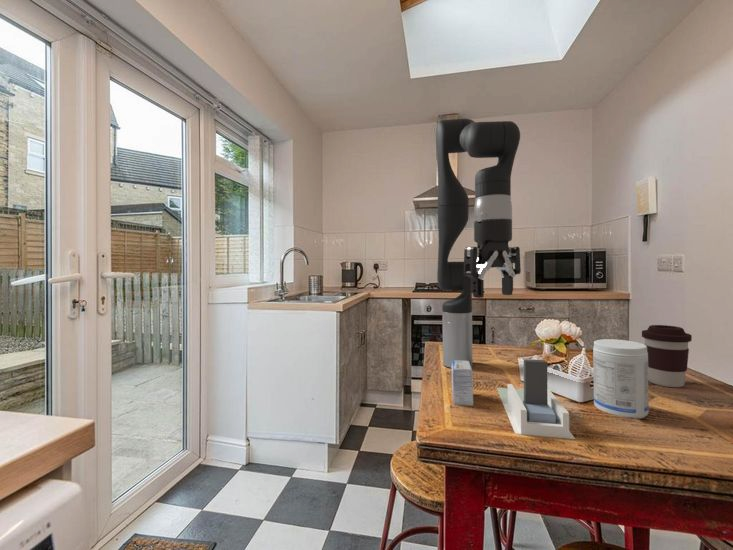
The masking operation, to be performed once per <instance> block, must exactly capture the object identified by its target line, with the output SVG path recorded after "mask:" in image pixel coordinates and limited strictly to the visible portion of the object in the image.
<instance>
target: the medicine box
mask: <svg viewBox="0 0 733 550" xmlns="http://www.w3.org/2000/svg"><path fill="white" fill-rule="evenodd" d="M450 369H451V395H452V401H453V402H452V403H453V405H455V406H456V405H457V406H474V382H473V380H474V377H473V375H474V374H473V373H474V372H473V369H472V367H471V365H470V362H469V361H460V360H456V361H452V363H451V368H450Z"/></svg>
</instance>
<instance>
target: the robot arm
mask: <svg viewBox="0 0 733 550" xmlns="http://www.w3.org/2000/svg"><path fill="white" fill-rule="evenodd" d="M520 140H521V131H520V128H519V126H518V125H517V124H516V123H515V122H514V121H512V120H511V121H510V120H507V121H506V120H502V121H478V122H477V121H474V120H472V119H469V118H455V119H453V118H451V119H441V120H440V121H438V122H437V124H436V129H435V150H436V162H437V163H436V165H437V230H438V251H437V252H438V253H437V254H438V255H437V271H436V272H437V273H436V274H437V275H436V277H437V286H438V288H439V290H441V291H461V293H460V294H459V295H458V296H456V297H455V298H453V299H449V300H446V301H444V302H443V303H442V310H441V311H442V313H441V314H442V319H441V320H442V364H443V366H444V367H448V368H450V369H451V363H452V361H456V360H460V361H469V362H470V365H471V368H472V367H473V366H474V365H473V297H474V298H477V299H481V298H484V293H485V291H484V290H485V289H484V287H485V285H484V283H485V282H484V281H485V280H484V276H485V274H486V273H487V272H488V271H490V269H491V268H492V269H493V268H495V269H496V270H497V271H499V272H500V275H501V277H502V278H501V294H502V295H504V296H512V295H513V291H514V278H515V277H516V276H517V275H520V274H521V271H522V269H521V250H520V249H521V248H520V247H519V246H509V242H511V241H512V240H513V205H512V196H511V191H512V188H511V185H512V184H511V181H512V180H511V177H512V172H513V166H514V163H515V162H514V161H515V160H516V159H515V158H516V155H517V151H518V148H519V144H520V142H521V141H520ZM459 153H467V154H468V156H469V157H470V158H473V159H474V158H476V159H489V158H490V159H491V158H497V159H498V160H497V164H496V165H492V166H489V167H485V168H482V169H480V170H478V171H477V172H476V174H475V177H474V207H473V241H474V242H476V246H466V247H465V248H464V251H463V254H464V255H463V261H448V260H449V256H450V253H451V251H452V248H453V247H454V245H455V242H456V241H457V239H458V238H459V237H460V235H461V233H462V232H463V231H464V229H465V228H466V225H467V224H468V221H469V212H470V211H469V209H470V206H469V205H470V204H469V203H470V200H469V196H468V194H467V191H466V189H465V188H464V187H463V185H462V184H461V182H460V180H459V179H458V178H457V176H456V173H455V172H454V170H453V167H452V165H451V161H450V155H449V154H459Z"/></svg>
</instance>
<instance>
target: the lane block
mask: <svg viewBox="0 0 733 550" xmlns="http://www.w3.org/2000/svg"><path fill="white" fill-rule="evenodd" d="M547 388H548V361H547V360H546V359H528V358H524V359H523V389H524V401H523V404H524V406H525V408H526V410H527V422H539V423H551V424H556V418H555V413H554V412H553V411H552V409H551V408H550V406H549V405H548V399H547Z"/></svg>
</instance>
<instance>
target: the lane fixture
mask: <svg viewBox="0 0 733 550" xmlns="http://www.w3.org/2000/svg"><path fill="white" fill-rule="evenodd" d="M496 390H497V393H498V395H499V398H500V400H501V402H502V405H503V407H504V410H505V413H506V414H507V417H508V419H509V422H510V425H511V427H512V429H513V432H514V434H515V435H524V436H525V435H526V436H535V437H544V438H545V437H547V438H548V437H549V438H558V439H568V440H576V437H575V436H574V435H573V434H572V433H571V431H570V413H569V411H568V410H567V409H566V408H565V406H563V404H562V403H561V402H560V401H559V399H558V398H557V397H556V396H555V395H554V394H553V393H552V391H551V390H550V389H549V388H548V387H547V399H548V405H549V406H550V408H551V409H552V411H553V412H554V413H555V418H556V424H551V423H539V422H527V410H526V408H525V406H524V404H523V401H524V388H523V389H522V388H515V386H514V385H513V384H512V383H507V388H506V387H505V388H504V387H496Z"/></svg>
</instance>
